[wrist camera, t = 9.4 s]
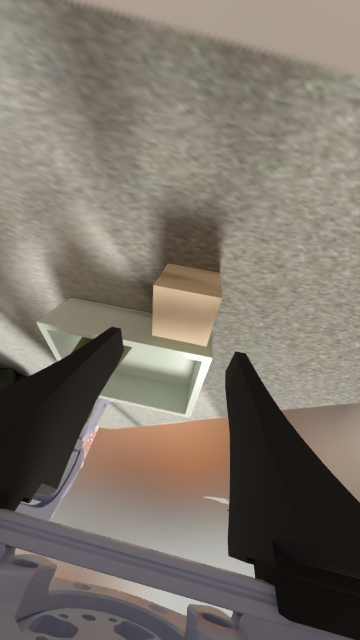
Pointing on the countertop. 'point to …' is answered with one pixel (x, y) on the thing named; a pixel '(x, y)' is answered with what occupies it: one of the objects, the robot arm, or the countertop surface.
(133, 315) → the tote
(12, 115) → the countertop surface
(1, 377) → the squash
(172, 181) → the countertop surface
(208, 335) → the maple cube
